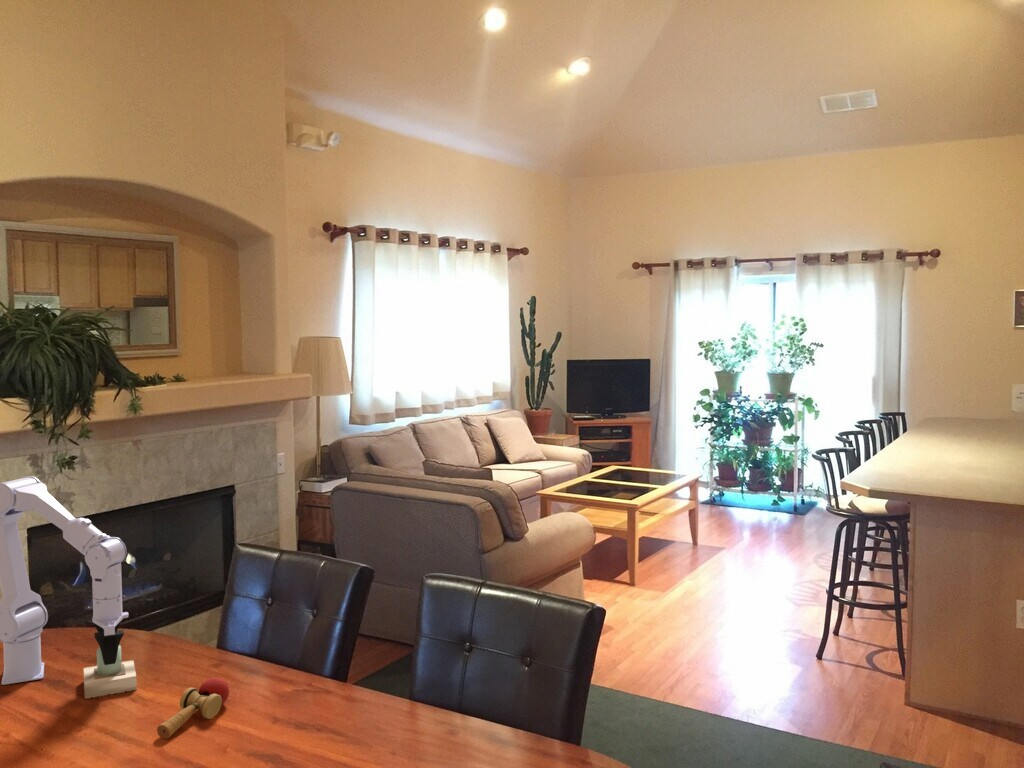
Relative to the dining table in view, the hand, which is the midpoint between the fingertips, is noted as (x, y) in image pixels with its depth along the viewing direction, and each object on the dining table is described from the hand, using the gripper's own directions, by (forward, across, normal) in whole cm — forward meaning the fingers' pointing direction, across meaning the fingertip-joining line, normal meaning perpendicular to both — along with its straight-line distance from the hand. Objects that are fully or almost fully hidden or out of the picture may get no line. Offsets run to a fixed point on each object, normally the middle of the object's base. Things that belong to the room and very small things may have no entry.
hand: (109, 657), depth 189 cm
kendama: (+7, -25, -14) cm, 30 cm away
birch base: (+6, 0, 0) cm, 6 cm away
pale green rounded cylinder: (+3, 0, 0) cm, 3 cm away
